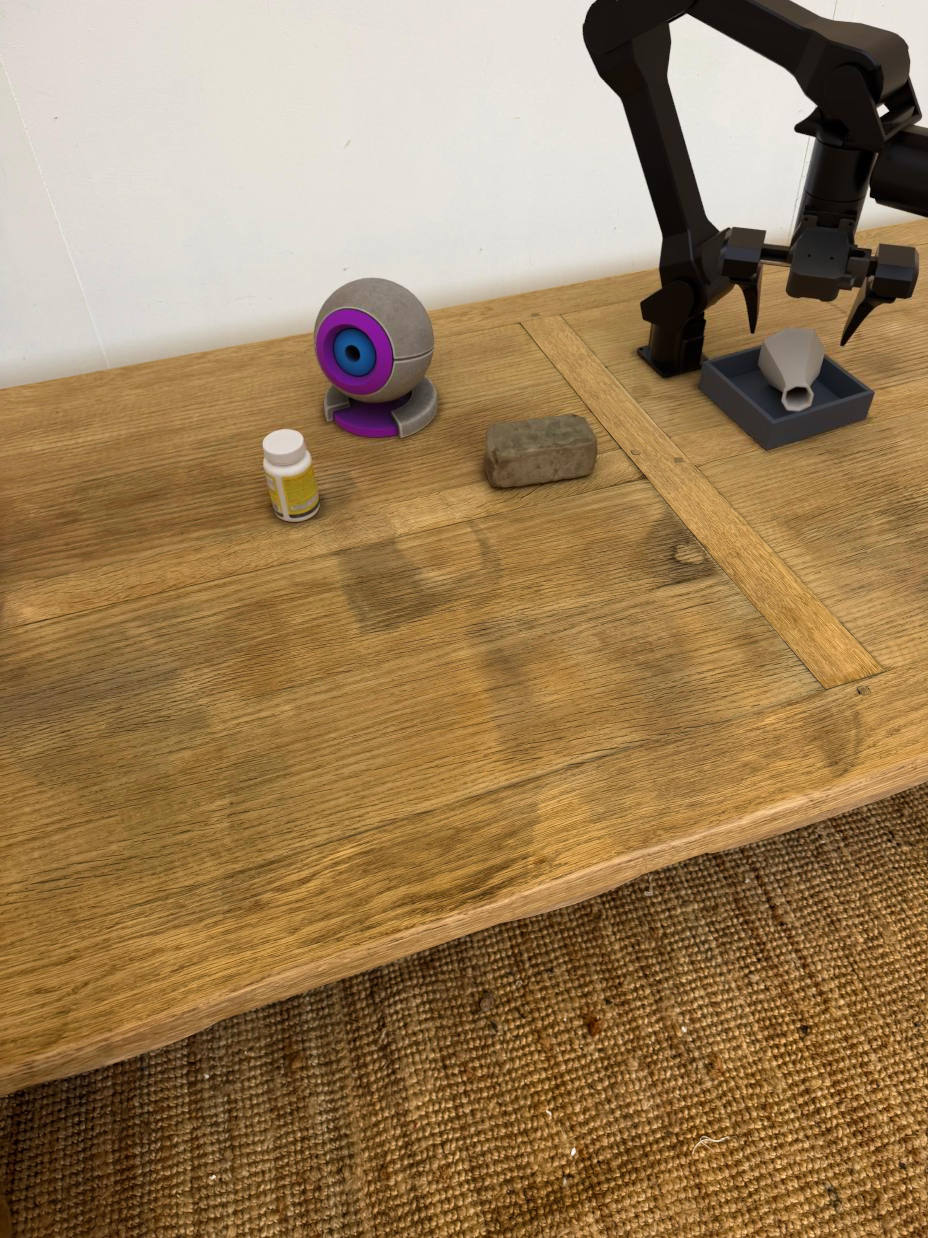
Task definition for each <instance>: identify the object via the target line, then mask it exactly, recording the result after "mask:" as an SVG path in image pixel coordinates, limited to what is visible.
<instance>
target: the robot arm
mask: <svg viewBox="0 0 928 1238" xmlns="http://www.w3.org/2000/svg"><path fill="white" fill-rule="evenodd" d="M685 15H689V16H690V17H691V18H693V19H696V20H697V21H699V22H700V23H703V24H705V25H706V26H708V27H709V28H711V29H713V30H715V31H717V32H719V33H721V34H722V35H724V36H726V37H727V38H729V39H731V40H732V41H734V42H736V43H738V44H740V45H742V46H744V47H746V48H748V49H749V50H750V51H752V52H754V53H756V54H757V55H760V56H761V57H763V58H765V59H767V60H768V61H770V62H772V63H774V64H775V65H777V66H779V67H781V68H783V69H784V70H785V71H786V72H787V73H788V74H790V75H791V76H792V77H793V78H794V80H795V81H796V83H797V84H798V86H799V88H800V90H801V91H802V93H803V95H804V96H805V97H806V98H807V99H808V100H810V101H811V102H812V103H813V104H814V105H815V106H816V107H815V108H814V109H813V110H812V112H811V113H810V114H808V116H806V117H805V118H804V119H802V120H800V121H799V122H797V123H795V124H794V126H793V130H794V132H795V133H797V134H800V135H805V136H809V137H812V138H814V142H813V147H812V150H811V156H810V159H809V164H808V168H807V172H806V176H805V180H804V185H803V189H802V194H801V198H800V202H799V207H798V209H797V210H798V211H797V215H796V219H795V223H794V228H793V232H792V235H791V238H790V243H789V245H782V244H772V243H765V240H766V235H767V229H758V228H749V227H739V226H732V227H730V226H727V227H725V228H724V229H722V230H719V229H718V228H717V227H716V225H714V224H713V223H712V222H711V220H710V219H709V218H708V216H707V213H706V211H705V207H704V203H703V200H702V196H701V193H700V190H699V189H700V188H699V186H698V183H697V178H696V175H695V171H694V168H693V164H692V161H691V158H690V157H691V156H690V154H689V149H688V147H687V143H686V139H685V137H684V132H683V129H682V126H681V122H680V118H679V115H678V111H677V108H676V104H675V101H674V97H673V93H672V90H671V86H670V82H669V77H668V74H669V73H668V72H669V63H670V59H671V58H670V57H671V49H672V35H671V28H670V24H671V23H673V22H675V21H677V20H679V19H680V18H683V17H684V16H685ZM581 36H582V41H583V44H584V47H585V49H586V51H587V53H588V56H589V58H590V60H591V63H592V65H593V66H594V69H595V71H596V73H597V75H598V77H599V78H600V79H601V80H602V81H603V82H604V83H605V84H606V85H607V86H608V87H609V88H610V90H611V91H612V92H614V93H615V95H616V96H617V97H618V98H619V100H620V102H621V104H622V105H621V106H622V108H623V112H624V114H625V118H626V121H627V125H628V127H629V131H630V134H631V138H632V141H633V144H634V148H635V151H636V154H637V158H638V160H639V163H640V168H641V170H642V174H643V178H644V180H645V184H646V187H647V190H648V194H649V196H650V200H651V203H652V207H653V211H654V213H655V216H656V219H657V223H658V226H659V229H660V233H661V247H660V253H659V254H660V255H659V261H658V273H659V281H660V285H661V287H660V288H658V289H657V290H655V291H654V292H653V293H651V294H650V295H648V296H647V297H645V298H644V299H643V300H641V301H640V302H639V308H640V312H641V318H642V320H643V321H645V322H647V323H650V329H649V335H648V336H649V337H648V343H647V344H646V345H643V346H639V347H637V348H636V353H637V355H638V356H639V357H640V358H641V359H643V360H644V361H645V362H646V363H647V364H648V365H649V366H650V367H651V368H652V369H653V370H654V371H655V372H656V373H657V374H658V375H660V376H661V377H662V378H669V377H673V376H676V375H680V374H684V373H687V372H691V371H694V370H697V369H701V368H702V363H703V361H706V360H710V359H709V358H708V357H707V356H705V355H704V354H703V348H704V343H705V332H706V331H705V330H706V325H707V319H706V318H705V317H706V316H705V315H706V312H705V311H707V310H708V309H709V308H711V307H712V306H714V305H716V304H717V303H718V302H719V301H720V300H722V299H723V298H724V297H726V296H727V295H728V294H729V293H730V292H732V290H733V289H734V288H735V286H736V285H737V286H738V287H739V289H741V292H742V294H743V298H744V301H745V306H746V312H747V320H748V327H749V333H750V334H751V335H755V333H756V328H757V326H758V325H757V324H758V321H759V320H758V319H759V315H760V304H761V295H762V294H761V293H762V285H763V284H762V282H763V273H764V265H765V266H773V267H781V268H782V267H783V268H789V271H788V277H787V281H786V286H785V293H786V295H787V296H788V297H790V298H793V299H802V298H803V299H811V300H812V299H813V300H819V301H820V302H822V303H831V302H834V301H835V300H836V299H837V298H838V296H839V292H840V290H841V291H850V292H852V290H853V288H856V289H858V291H857V294H856V297H855V299H854V302H853V304H852V306H851V309H850V312H849V314H848V317H847V319H846V321H845V324H844V327H843V329H842V330H843V331H842V333H841V338H840V341H839V346H840V347H845V345H846V344H847V343H848V342H849V340H850V339H851V338H852V336H853V335H854V333H855V332H856V331H857V330H858V328H859V327H860V325H861V324H862V323H863V322H864V320H865V319H866V318H867V317H868V316H869V315H870V314H871V313H872V312H873V311H874V310H875V309H876V308H878V307H879V306H881V305H883V304H885V305H886V304H887V305H891V304H894V303H895V301H896V300H897V299H900V300H901V299H902V300H907V299H910V298H912V297H913V295H914V291H915V289H916V286H917V283H918V279H919V274H920V253H919V252H918V249H917V248H916V247H915V246H907V245H897V244H891V243H890V244H889V243H881V242H880V243H878V245H877V247H876V250H875V253H874V255H872V254H873V249H872V248H866V247H859V244H856V238H855V236H856V233H857V230H858V226H859V222H860V219H861V215H862V212H863V208H864V205H865V201H866V197H867V194H868V191H869V198H870V199H874V201H875V204H877V205H879V206H883V207H888V208H890V209H895V210H898V211H901V212H905V213H909V214H912V215H916V216H919V217H923V218H927V219H928V127H925V126H921V125H918V124H917V123H919V122H921V120H922V119H923V112H922V110H921V107H920V103H919V101H918V98H917V95H916V91H915V89H914V85H913V83H912V79H911V76H910V72H911V61H912V60H911V57H910V52H909V48H910V47H909V45H908V43H907V42H906V40H905V39H904V38H903V37H902V36H901V35H900V34H899V33H896V32H894V31H890V30H888V29H884V28H880V27H876V26H873V25H870V24H866V23H862V22H853V21H846V20H845V21H844V20H835V19H831V18H827V17H823V16H821V15H819V14H817V13H816V12H813V11H812V10H809V9H808V8H806V7H804V6H802V5H800V4H798V3H796V2H795V1H792V0H595V1H593V3H591V5H590V6H589V8H588V10H587V11H586V13H585V18H584V21H583V23H582V24H581ZM883 105H884V107H885V108H886V109H887V110H888V111H887V112H885V113H884V114H883V115H881V116H880V115H879V111H878V108H880V107H881V106H883Z"/></svg>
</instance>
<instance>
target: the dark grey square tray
mask: <svg viewBox="0 0 928 1238" xmlns="http://www.w3.org/2000/svg"><path fill="white" fill-rule="evenodd" d="M761 347H762V344H759V345H756V346H751V347H749V348H745V349H742V350H737V351H735V352H731V353H727V354H723V355H720V356H716V357H714V358H710V359H709V360H706V361H703V363H702V367H701V368H700V373H699V380H698V385H697V388H698V390H699V391H701V392H702V393H703V394H704V395H705V396H706V397H707V398H708V399H710V401H712V402H713V403H714V404H715V405H716V406H717V407H718V408H719V409H720V410H722V412H723V413H725V414H726V415H727V416H728V417H729V418H730V419H731V420H732V421H733V422H734V423H735V424H736V425H737V426H739V427H740V429H742V430H743V431H744V432H745V433H746V434H747V435H748V436H749V437H751V438H752V439H753V440H754V441H755V442H756V443H757V444H758V445H759V446H761V448H763V449H764V450H765V451H766V452H767V451H769V450H773V449H775V448H779V447H782V446H786V445H789V444H791V443H795V442H798V441H801V440H804V439H807V438H808V439H809V438H810V437H813V436H817V435H821V434H823V433H826V432H829V431H833V430H836V429H839V428H842V427H845V426H849V425H851V424H855V423H858V422H861V421H865V420H867V417H868V415H869V411H870V408H871V405H872V403H873V401H874V400H873V399H874V397H875V395H876V394H875V390H873V389H871V388H870V387H869V386H868V385H866V384H865V383H863V381H861V380H860V379H858V378H857V377H856V376H855V375H853V374H852V373H851V372H850V371H848V370H847V369H846V368H844V367H843V366H841V365H840V364H839V363H838V362H836V361H835V360H833V359H832V358H831V357H830V356H828V355H827V354H824V358H823V362H822V365H821V369H820V373H819V375H818V376H817V378H816V379H815V380H814V381H813V383H812V384H811V386H810V388H811V390H812V392H813V394H814V396H813V399H812V403H811V406H809V407H807V408H805V409H803V410H801V411H787V410H786V408H785V406H784V405H783V403H782V401H781V399H782V395H783V392H781V391H780V390H778V389H777V388H775V387H773V386H771V385H770V384H769V383H768V381H767V380H766V378H765V376H764V374H763V373H762V371H761V369H760V368H759V366H758V361H759V356H760V351H761Z"/></svg>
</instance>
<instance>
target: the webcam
mask: <svg viewBox="0 0 928 1238" xmlns="http://www.w3.org/2000/svg"><path fill="white" fill-rule="evenodd" d="M315 319H316V320H315V322H314V327H313V349H314V354H315V358H316V361H317V364H318V366H319V368H320V370H321V372H322V373H323V375H324V377H325V378H326V380H327V381H328V382H329V383H330V384H331V385H329V387H328V388H327V390H326V391H325V394H324V397H323V412H324V417H325V419H326V422H332V421H334V422H335V423H336V425H337V426H339V427H340V428H341V429H343V430H344V431H346V432H348V433H350V434H354V435H356V436H360V437H366V438H385V437H392V436H397V435H398V436H399V438H400V439H403V438H405V437H408V436H411V435H414V434H416V433H417V432H419V431H421V430H422V429H424V428H425V427H426V426H428V425H429V424H430V423H431V422H432V421H433V419H434V418H435V416H436V414H437V412H438V408H439V407H438V406H439V402H438V401H439V400H438V399H439V398H438V393H437V389H436V386H435V385H434V383H433V382H432V380H431V379H429V377H428V376H426V374H427V372H428V370H429V368H430V367H431V364H432V363H431V362H432V360H433V356H434V352H435V335H434V328H433V324H432V321H431V318H430V315H429V313H428V311H427V310H426V308H425V306H424V305H423V303H422V302H421V300H420V299H419V298H418V296H416V295H415V294H414V293H413V292H412V291H411V290H409V289H408V288H406V287H404V286H403V285H401V284H400V283H397V282H395V281H392V280H389V279H386V278H382V277H362V278H359V279H354V280H352V281H349V282H347V283H345V284H344V285H341V286H339V287H338V288H337V289H336V290H334V291H333V292H332V293H331V294H330V295H329V297H328V298H326V300H325V301H324V303H323V304H322V306H321V307H320V309H319V311H318V313H317V316H316V318H315Z"/></svg>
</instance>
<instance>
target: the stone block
mask: <svg viewBox="0 0 928 1238" xmlns="http://www.w3.org/2000/svg"><path fill="white" fill-rule="evenodd" d="M484 444H485V446H484V447H485V448H484V456H483V461H482V463H483V467H484V472H485V474H486V475H487V477H488V478H487V479H488V481H489V483H490V485H491V486H492V487H494V488H495V487H498V488H510V487H511V488H512V487H517V488H518V487H524V486H529V485H537V484H538V485H539V484H544V483H549V482H557V481H560V480H570V479H575V478H581V477H585V476H587V475H590V474H591V473H593V471H594V469H595V465H596V463H597V458H598V437H597V435H596V434H595V431H594V429H593V428H592V426H591V425H590V423H589V422H588V420H587V418H586V417H585V416H580V415H578V414H575V413H568V414H563V415H551V416H545V417H538V418H534V419H533V418H531V419H525V420H518V421H505V422H502V423H493V424H492V425H488V426H487V427H486V430H485V443H484Z"/></svg>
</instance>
